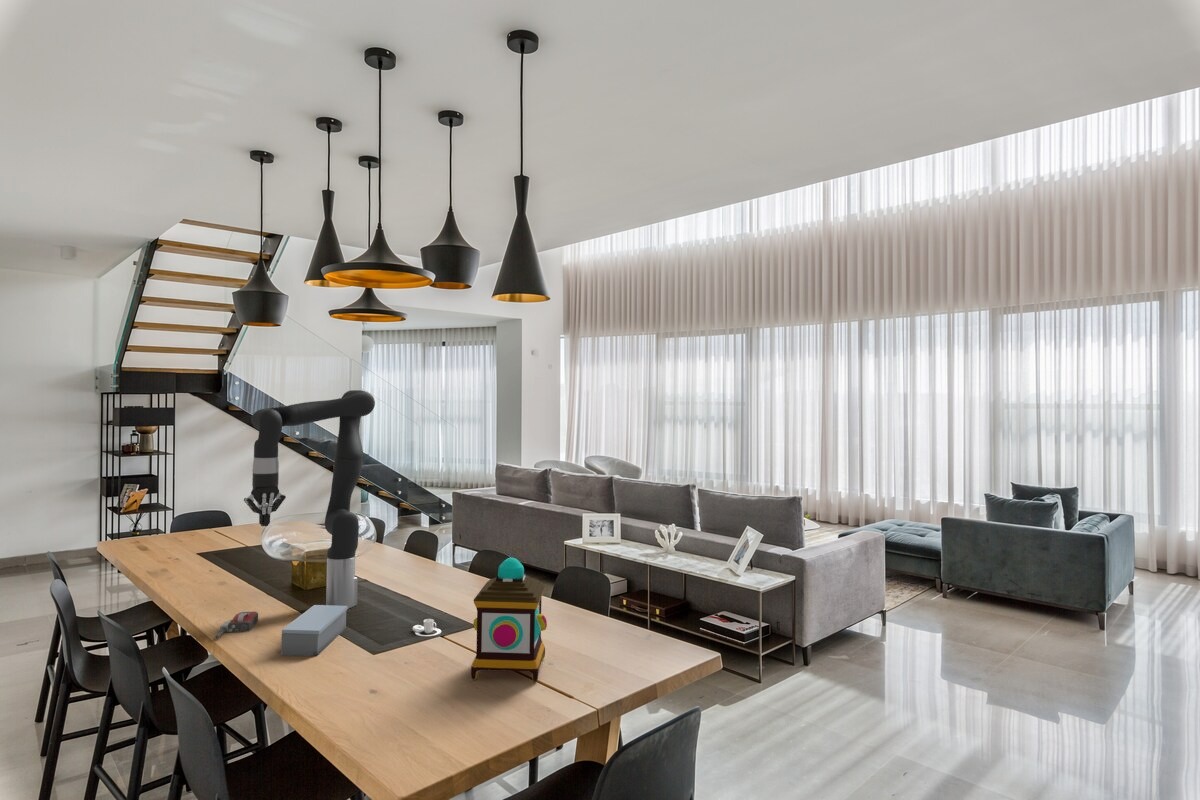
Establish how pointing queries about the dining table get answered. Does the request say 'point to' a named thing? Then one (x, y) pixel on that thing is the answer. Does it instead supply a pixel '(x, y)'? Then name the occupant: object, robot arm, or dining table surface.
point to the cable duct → (312, 640)
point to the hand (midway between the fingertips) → (264, 525)
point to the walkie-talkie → (239, 623)
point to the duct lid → (315, 619)
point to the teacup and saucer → (426, 628)
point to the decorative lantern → (509, 622)
